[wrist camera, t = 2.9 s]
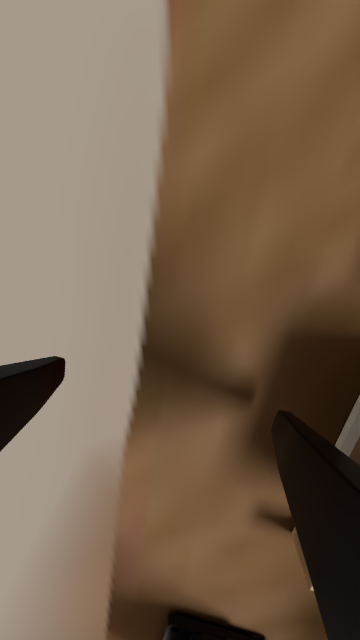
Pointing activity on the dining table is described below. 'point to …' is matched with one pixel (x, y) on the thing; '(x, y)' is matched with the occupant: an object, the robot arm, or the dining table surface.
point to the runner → (350, 431)
